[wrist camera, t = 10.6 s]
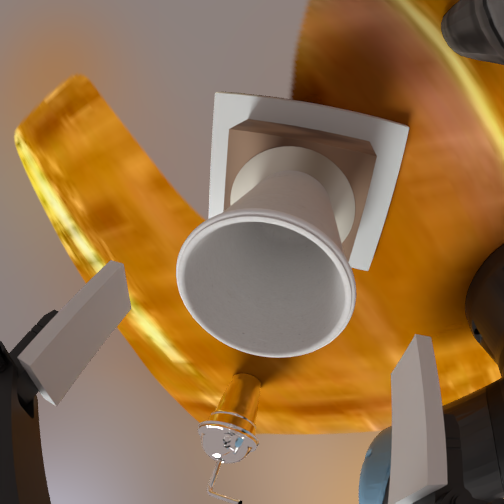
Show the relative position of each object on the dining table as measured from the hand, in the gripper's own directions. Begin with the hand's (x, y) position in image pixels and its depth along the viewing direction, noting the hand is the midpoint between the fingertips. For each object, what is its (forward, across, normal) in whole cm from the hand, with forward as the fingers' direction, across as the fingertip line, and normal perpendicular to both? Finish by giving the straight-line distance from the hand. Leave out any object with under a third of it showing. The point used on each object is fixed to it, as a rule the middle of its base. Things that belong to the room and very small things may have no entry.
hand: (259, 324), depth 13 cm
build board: (+18, +1, 0) cm, 18 cm away
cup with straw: (+18, +3, +32) cm, 37 cm away
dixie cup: (+11, 0, 0) cm, 11 cm away
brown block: (+16, 0, 0) cm, 16 cm away
